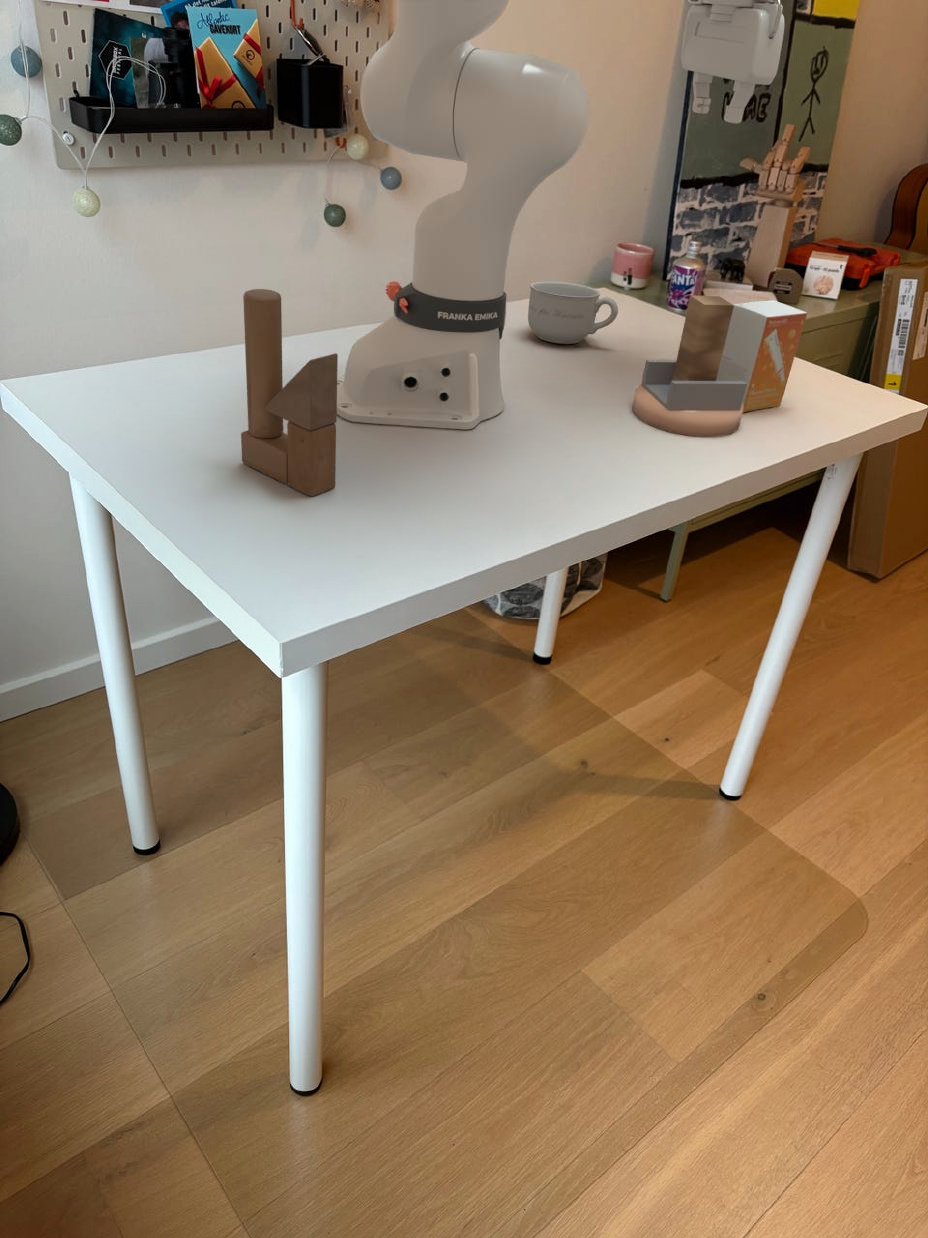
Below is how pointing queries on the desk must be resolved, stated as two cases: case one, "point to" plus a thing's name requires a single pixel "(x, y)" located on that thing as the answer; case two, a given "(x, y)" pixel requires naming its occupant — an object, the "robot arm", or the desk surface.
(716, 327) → the wood grain beam
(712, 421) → the round base with bracket
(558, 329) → the teacup
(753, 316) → the small box
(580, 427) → the desk surface
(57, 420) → the desk surface
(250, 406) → the brown wooden block assembly
